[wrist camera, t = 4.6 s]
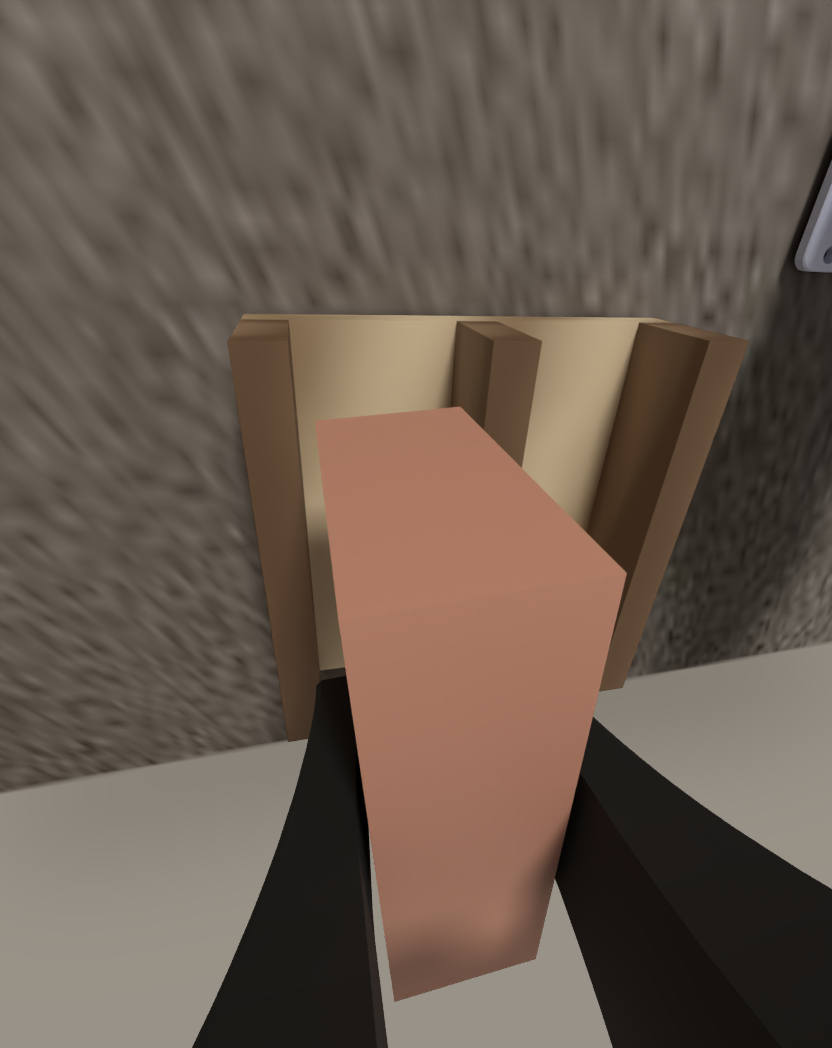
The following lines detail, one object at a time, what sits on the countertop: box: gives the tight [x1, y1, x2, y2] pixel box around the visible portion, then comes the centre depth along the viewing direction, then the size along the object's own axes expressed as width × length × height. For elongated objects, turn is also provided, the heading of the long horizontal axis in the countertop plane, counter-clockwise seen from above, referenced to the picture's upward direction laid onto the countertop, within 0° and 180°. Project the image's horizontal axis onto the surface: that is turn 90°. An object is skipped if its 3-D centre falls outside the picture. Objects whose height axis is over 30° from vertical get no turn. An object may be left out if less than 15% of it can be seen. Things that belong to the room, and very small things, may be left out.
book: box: [315, 407, 627, 1001], centre depth 10 cm, size 3×10×6 cm, turn 2°
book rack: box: [227, 314, 749, 742], centre depth 16 cm, size 13×13×4 cm
